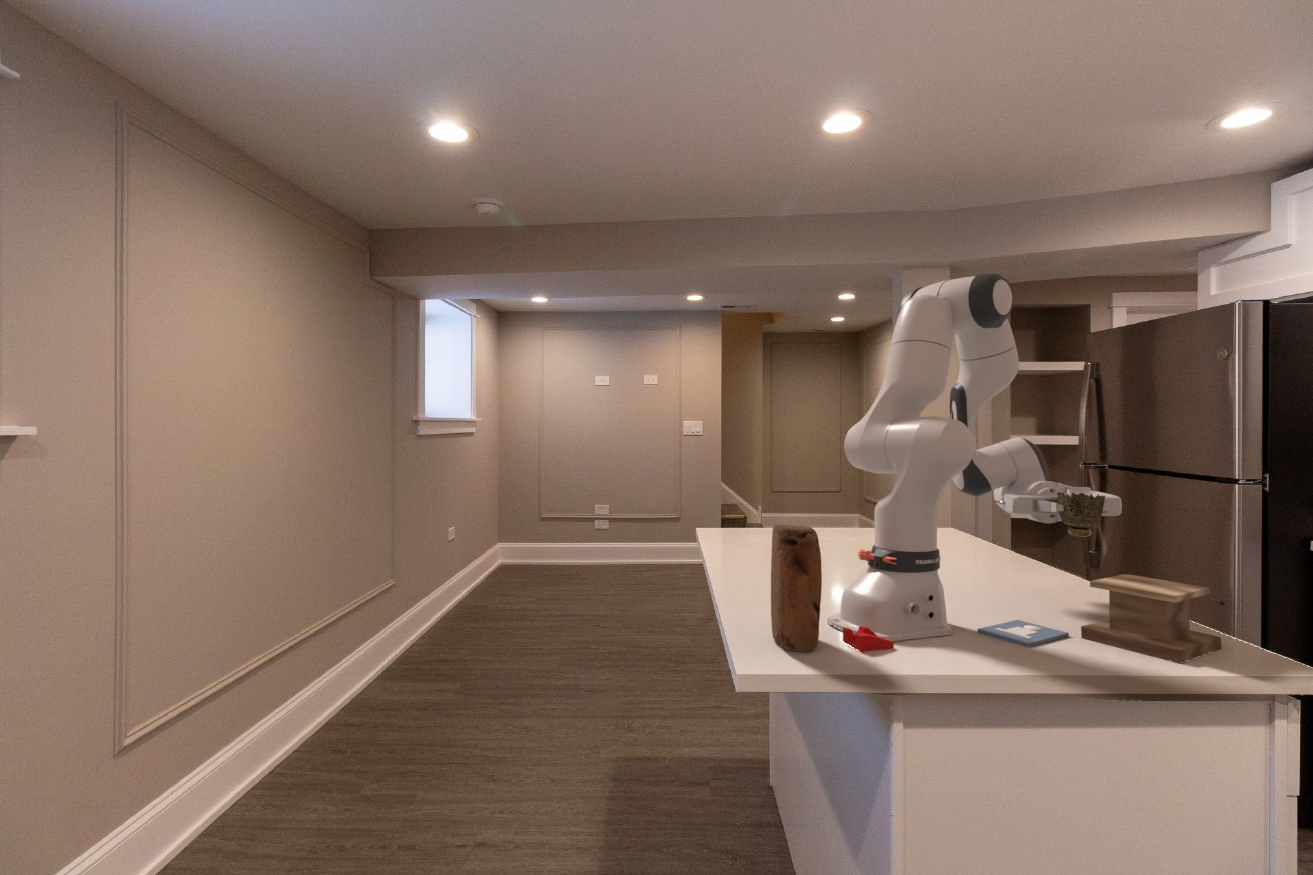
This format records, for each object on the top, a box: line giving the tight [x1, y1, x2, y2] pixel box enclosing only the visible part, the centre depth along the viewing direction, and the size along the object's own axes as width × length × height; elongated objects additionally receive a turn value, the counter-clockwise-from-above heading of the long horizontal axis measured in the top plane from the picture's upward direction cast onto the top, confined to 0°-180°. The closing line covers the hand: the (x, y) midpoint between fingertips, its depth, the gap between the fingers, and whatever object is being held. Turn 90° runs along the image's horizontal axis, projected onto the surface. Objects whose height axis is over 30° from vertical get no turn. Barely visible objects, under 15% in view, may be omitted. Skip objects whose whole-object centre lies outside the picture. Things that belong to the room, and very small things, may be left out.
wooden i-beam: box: [1080, 573, 1222, 664], centre depth 101 cm, size 14×14×10 cm
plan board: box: [977, 619, 1070, 648], centre depth 106 cm, size 12×9×1 cm
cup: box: [1057, 492, 1105, 538], centre depth 113 cm, size 8×7×8 cm
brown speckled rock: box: [770, 524, 823, 653], centre depth 102 cm, size 11×8×20 cm
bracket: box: [842, 626, 895, 653], centre depth 100 cm, size 6×5×3 cm
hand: (1082, 508), depth 112 cm, fingers closed on cup, 7 cm apart
